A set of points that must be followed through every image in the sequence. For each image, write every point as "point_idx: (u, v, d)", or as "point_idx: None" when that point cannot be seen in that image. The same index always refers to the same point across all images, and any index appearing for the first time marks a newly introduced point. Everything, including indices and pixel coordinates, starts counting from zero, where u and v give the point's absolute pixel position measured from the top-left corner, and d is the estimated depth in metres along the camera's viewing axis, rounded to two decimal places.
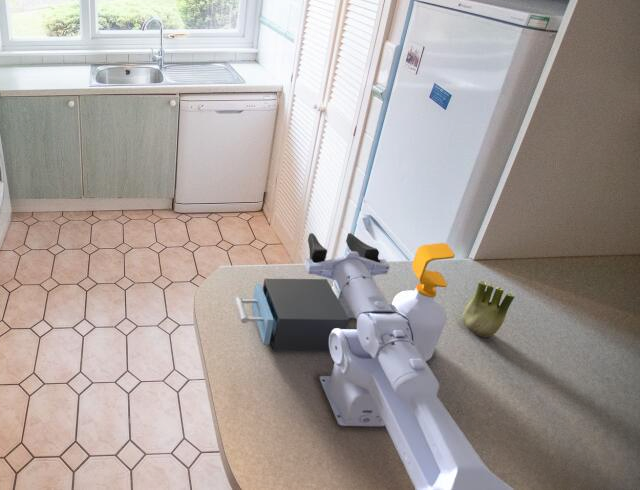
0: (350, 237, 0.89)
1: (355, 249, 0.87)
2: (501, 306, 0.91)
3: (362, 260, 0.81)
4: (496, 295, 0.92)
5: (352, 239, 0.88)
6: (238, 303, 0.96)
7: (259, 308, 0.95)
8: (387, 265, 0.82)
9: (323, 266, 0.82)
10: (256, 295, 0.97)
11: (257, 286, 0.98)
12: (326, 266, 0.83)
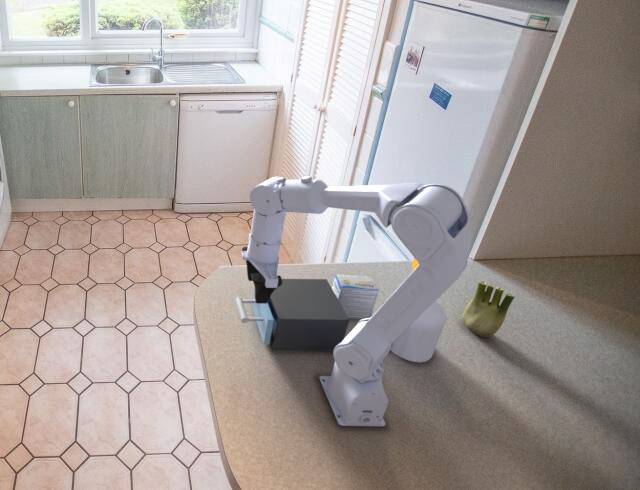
0: (250, 276, 0.95)
1: None
2: (501, 306, 0.91)
3: (248, 248, 0.90)
4: (496, 295, 0.92)
5: (249, 273, 0.95)
6: (238, 303, 0.96)
7: (259, 308, 0.95)
8: (249, 234, 0.95)
9: (265, 271, 0.85)
10: None
11: None
12: (265, 269, 0.85)
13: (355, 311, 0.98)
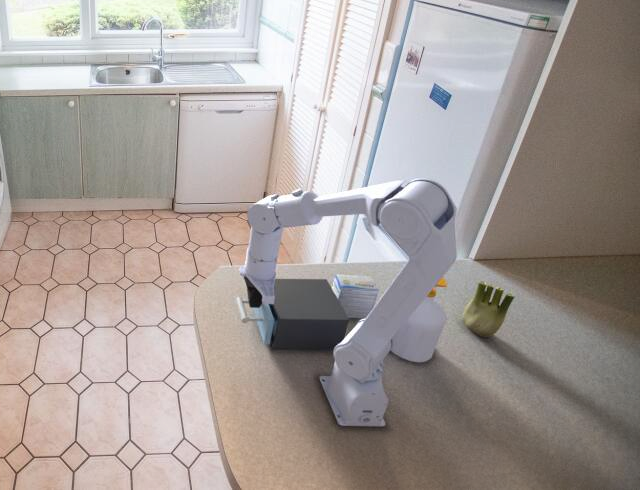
0: None
1: None
2: (501, 306, 0.91)
3: (245, 264, 0.92)
4: (496, 295, 0.92)
5: None
6: (238, 303, 0.96)
7: (259, 308, 0.95)
8: (247, 249, 0.97)
9: (262, 287, 0.86)
10: None
11: None
12: (262, 286, 0.87)
13: (355, 311, 0.98)
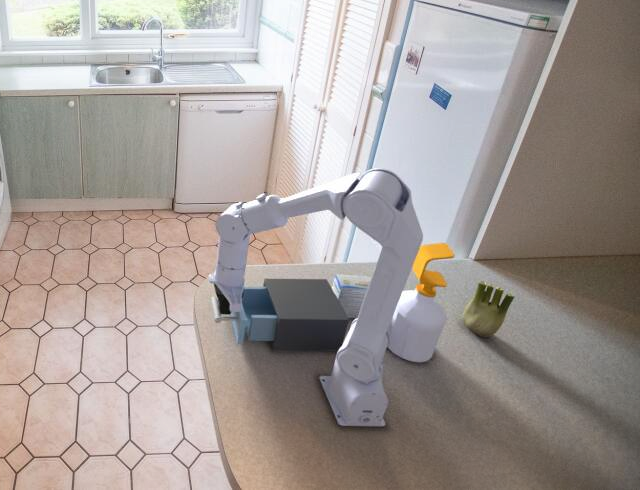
0: None
1: None
2: (501, 306, 0.91)
3: (215, 271, 0.93)
4: (496, 295, 0.92)
5: None
6: (213, 303, 0.96)
7: None
8: None
9: (230, 295, 0.87)
10: None
11: None
12: (230, 293, 0.88)
13: (355, 311, 0.98)
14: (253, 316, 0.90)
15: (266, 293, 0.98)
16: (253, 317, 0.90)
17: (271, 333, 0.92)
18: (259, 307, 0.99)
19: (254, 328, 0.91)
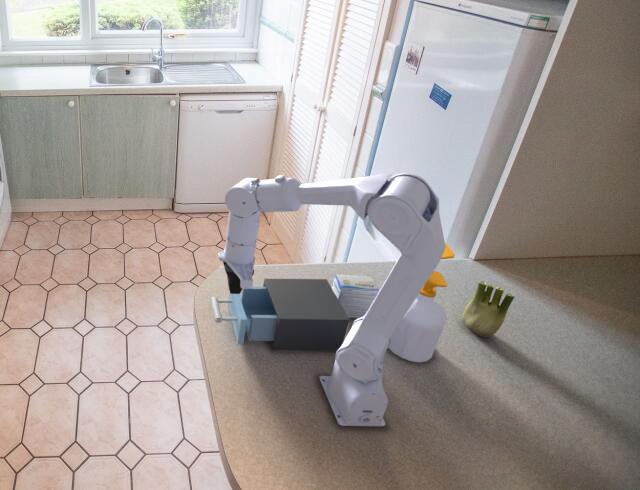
0: None
1: None
2: (501, 306, 0.91)
3: (225, 249, 0.91)
4: (496, 295, 0.92)
5: None
6: (213, 303, 0.96)
7: (234, 308, 0.95)
8: None
9: (240, 272, 0.85)
10: (231, 295, 0.97)
11: None
12: (240, 270, 0.86)
13: (355, 311, 0.98)
14: (253, 316, 0.90)
15: (266, 293, 0.98)
16: (253, 317, 0.90)
17: (271, 333, 0.92)
18: (259, 307, 0.99)
19: (254, 328, 0.91)
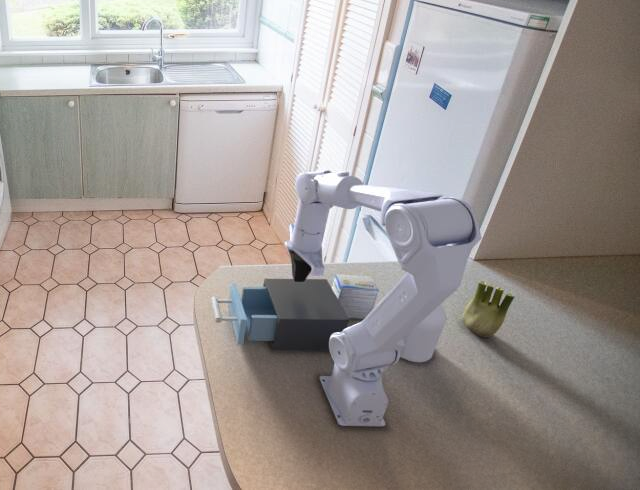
0: None
1: None
2: (501, 306, 0.91)
3: (291, 238, 0.94)
4: (496, 295, 0.92)
5: None
6: (213, 303, 0.96)
7: (234, 308, 0.95)
8: (290, 225, 0.98)
9: (310, 259, 0.88)
10: (231, 295, 0.97)
11: (232, 286, 0.98)
12: None
13: (355, 311, 0.98)
14: (253, 316, 0.90)
15: (266, 293, 0.98)
16: (253, 317, 0.90)
17: (271, 333, 0.92)
18: (259, 307, 0.99)
19: (254, 328, 0.91)
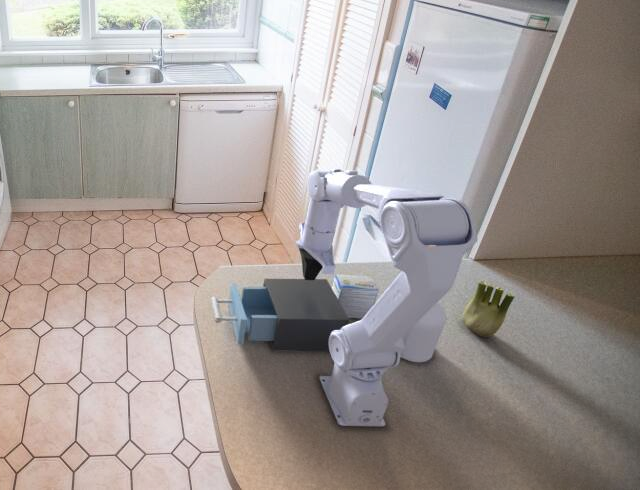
0: None
1: None
2: (501, 306, 0.91)
3: (301, 237, 0.94)
4: (496, 295, 0.92)
5: None
6: (213, 303, 0.96)
7: (234, 308, 0.95)
8: (300, 224, 0.99)
9: (321, 258, 0.88)
10: (231, 295, 0.97)
11: (232, 286, 0.98)
12: (321, 256, 0.89)
13: (355, 311, 0.98)
14: (253, 316, 0.90)
15: (266, 293, 0.98)
16: (253, 317, 0.90)
17: (271, 333, 0.92)
18: (259, 307, 0.99)
19: (254, 328, 0.91)
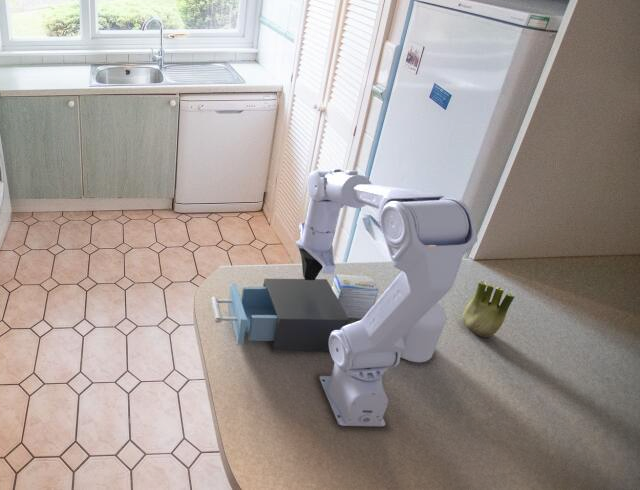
0: None
1: None
2: (501, 306, 0.91)
3: (301, 237, 0.94)
4: (496, 295, 0.92)
5: None
6: (213, 303, 0.96)
7: (234, 308, 0.95)
8: (300, 224, 0.99)
9: (321, 258, 0.88)
10: (231, 295, 0.97)
11: (232, 286, 0.98)
12: (321, 256, 0.89)
13: (355, 311, 0.98)
14: (253, 316, 0.90)
15: (266, 293, 0.98)
16: (253, 317, 0.90)
17: (271, 333, 0.92)
18: (259, 307, 0.99)
19: (254, 328, 0.91)
